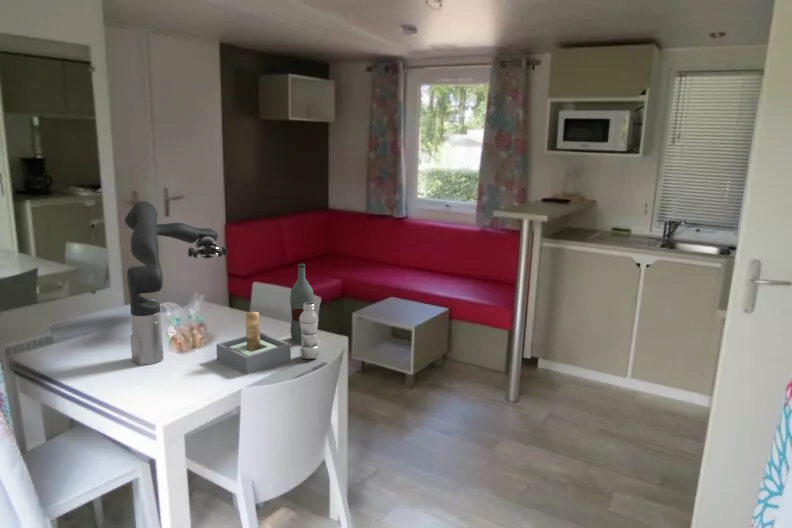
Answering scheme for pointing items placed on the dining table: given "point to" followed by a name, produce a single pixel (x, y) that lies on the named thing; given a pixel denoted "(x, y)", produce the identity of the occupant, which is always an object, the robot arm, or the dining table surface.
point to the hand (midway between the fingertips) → (207, 254)
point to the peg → (253, 331)
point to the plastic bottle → (309, 332)
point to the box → (256, 360)
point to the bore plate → (243, 350)
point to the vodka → (299, 302)
